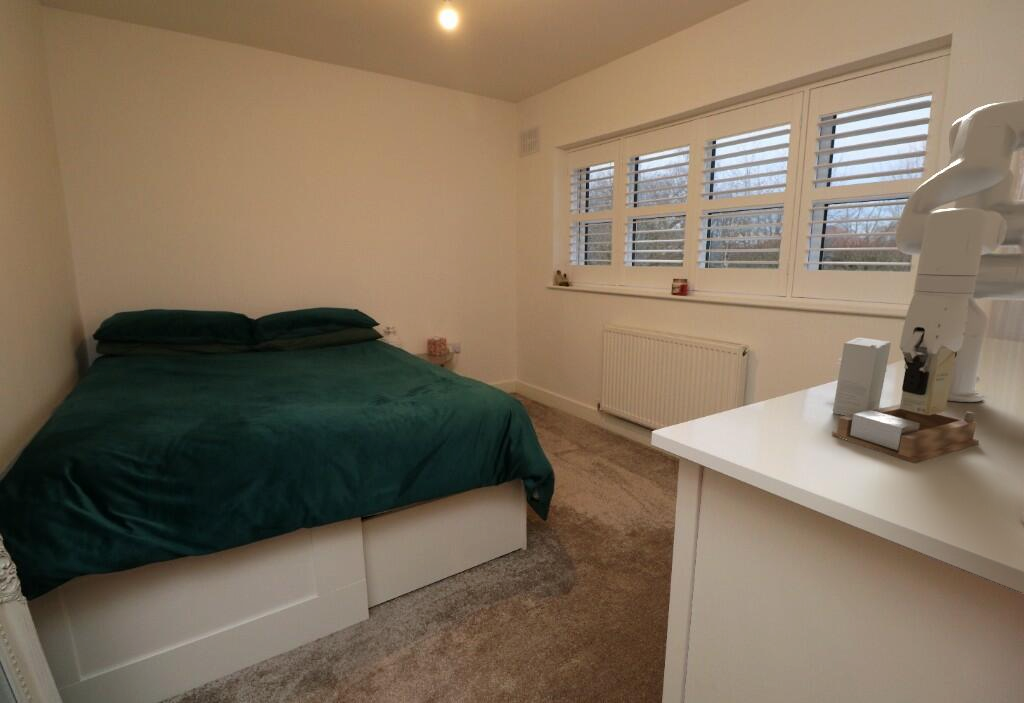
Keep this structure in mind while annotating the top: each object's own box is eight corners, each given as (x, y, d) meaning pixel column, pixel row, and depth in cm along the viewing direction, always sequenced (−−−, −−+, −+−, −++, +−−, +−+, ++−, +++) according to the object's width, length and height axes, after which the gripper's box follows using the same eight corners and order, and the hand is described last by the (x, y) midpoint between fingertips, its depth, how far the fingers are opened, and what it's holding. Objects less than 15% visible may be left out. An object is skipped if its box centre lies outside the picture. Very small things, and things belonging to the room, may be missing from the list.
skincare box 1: (845, 406, 102) (856, 336, 99) (880, 413, 98) (892, 340, 95) (831, 414, 97) (841, 341, 94) (867, 422, 92) (879, 345, 89)
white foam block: (867, 430, 85) (871, 410, 84) (915, 445, 79) (919, 423, 78) (850, 435, 83) (853, 413, 82) (897, 450, 77) (901, 427, 76)
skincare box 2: (928, 416, 81) (941, 345, 79) (897, 409, 85) (909, 340, 82) (946, 411, 84) (959, 342, 81) (915, 404, 88) (927, 338, 85)
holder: (895, 420, 93) (899, 395, 92) (978, 443, 82) (984, 414, 81) (832, 435, 86) (835, 407, 84) (914, 462, 74) (920, 431, 73)
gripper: (944, 284, 87) (927, 381, 91) (887, 285, 80) (871, 390, 83) (999, 286, 80) (978, 391, 84) (942, 288, 73) (922, 402, 77)
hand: (925, 390), depth 84 cm, fingers closed on skincare box 2, 6 cm apart
